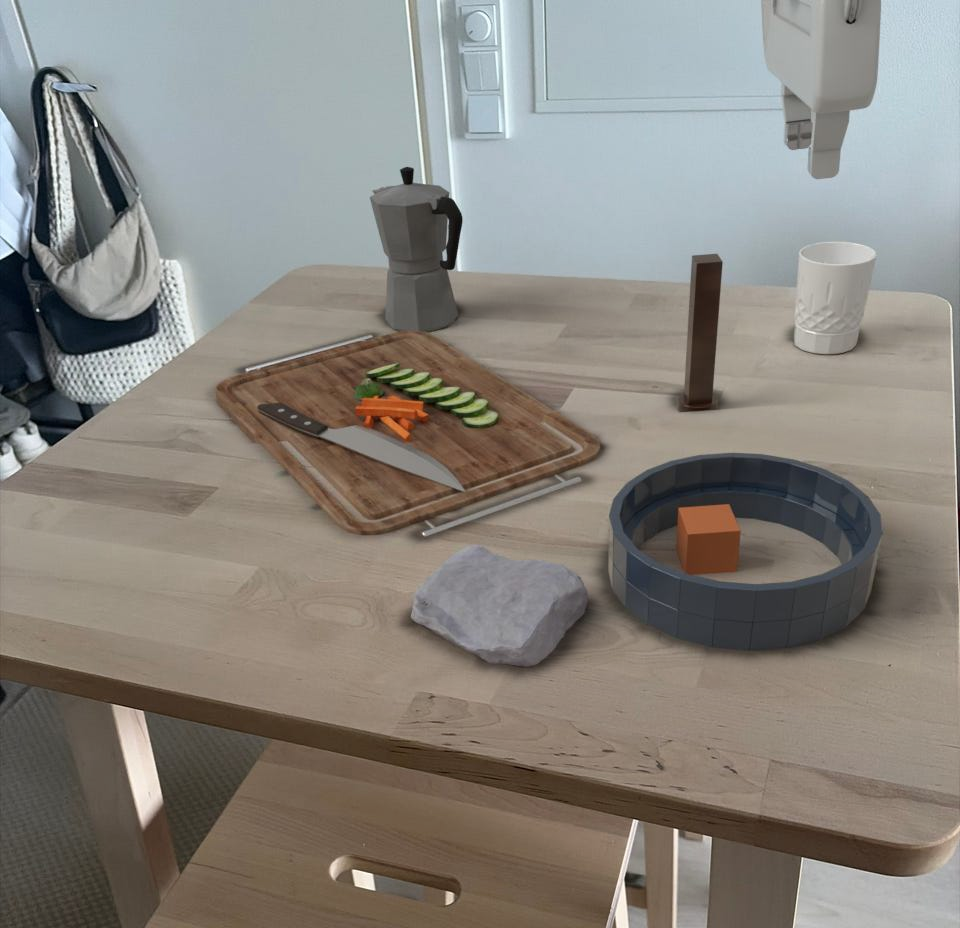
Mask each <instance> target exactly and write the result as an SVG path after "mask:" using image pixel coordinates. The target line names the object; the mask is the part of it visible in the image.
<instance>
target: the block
mask: <svg viewBox="0 0 960 928" xmlns="http://www.w3.org/2000/svg"><path fill="white" fill-rule="evenodd" d="M741 531H742V530H741V528H740V525H739V523H738V520H737V518H735V516H734V514H733V512H732V510H731V507H730V505H729V504H724V505H710V506H696V507H682V508H678V523H677V525H676V539H675V540H676V543H675V549H676V553H677V556H678V559H679V561H680V564H681V565H680V566H681V567H682V570H683V571H682V572H683V573H685V574H690V575H694V576H698V575H709V574H710V575H711V574H723V573H724V574H725V573H736V572H737V570H738V560H739V551H740V542H741Z"/></svg>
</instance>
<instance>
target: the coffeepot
mask: <svg viewBox="0 0 960 928" xmlns="http://www.w3.org/2000/svg"><path fill="white" fill-rule="evenodd" d="M414 172H415V168H414V167H410V166H405V167H404V166H403V168H400V169H399V173H400V176H401V180H402V182H403V183H401V184H396V185H388V186H385V187H384V186H382V187H379V188H377V189H373V190H372V193H373V194H372V195H371V196H369V200H370V205H371V209H372V212H373V215H374V216H373V217H374V219H375V223H376V228H377V231H378V236H379V237H380V238H379V239H380V242H381V245H382V250H383V253H384V254H385V256H386V257H387V258H388V259H387V260H388V270H387V273H386V291H385V292H386V293H385V294H386V295H385V298H386V299H385V315H384V316H385V317H384V319H385V321H386V323H387V325H388V326H389V327H390V328H391V329H393V330H395V331H397V332H401V331H412V330H416V331H424V332H427V333H430V332H434V331H438V330H441V329H444V328H445V329H446V328H447V327H449V326H451V325H452V324H453V323H454V322H455V321H456V319H457V318H458V317H459V312H458V308H457V307H458V306H457V304H456V300H455V295H454V291H453V287H452V284H451V280H450V276H449V272H448V271H453V270H454V269H455V268H456V263H457V258H458V253H459V252H458V251H459V246H460V238H461V232H462V229H463V223H464V222H463V220H464V219H463V215H462V212H461V210H460V208H459V207H458V204H457V203H456V202H455V199H453V198H451V197H450V191H448V190H447V189H445V188H444V187H443V186H441V185H438V184H427V183H418V182H414V174H415V173H414ZM445 251H446V260H444V254H443V253H444V252H445Z"/></svg>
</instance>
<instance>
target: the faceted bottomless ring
mask: <svg viewBox="0 0 960 928" xmlns="http://www.w3.org/2000/svg"><path fill="white" fill-rule="evenodd" d="M724 504H729V505H730V507H731V510H732V512H733V514H734V516H735V519H749V520H750V519H751V520H758V521H763V522H768V523H773V524H778V525H782V526H784V527H788V528H790V529H792V530H796V531H799V532H801V533H804V534H805V535H807V536H809V537H811V538H812V539H814V540H816V541H817V542H818V543H821V544H822V545H824V546H825V547H826V548H827V549H828V550H829V551H830V552H832V554H834V556H836V557H837V559H838V561H839V563H840V564H841V565H838V566H837V567H835V568H832V569H830V570H828V571H826V572H824V573H821V574H817V575H813V576H809V577H805V578H800V579H797V580H792V581H781V582H767V583H765V582H764V583H748V582H747V583H746V582H734V581H733V582H732V581H720V580H716V579H711V578H707V577H703V576H698V575H690V574H685V573H684V571H681V570H678V569H676V568H673V567H671V566H668V565H666V564H663V563H661V562H658V561H657V560H655V559H654V558H652V557H651V556H649V555H648V554H646V553H645V552H643V551H642V550H641V548H642V546H643V544H645V543H646V542H648V541H649V540H650V539H652V538H653V537H654V536H657V534H659V533H661V532H663V531H666V530H668V529H671V528H673V527H675V526H676V527H677V523H678V508H682V507H696V506H710V505H724ZM882 522H883V521H882V515H881V513H880V511H879V510H878V508H877V507H876V505H875V503H874V502H873V501H872V499H871V498H870V497H869V495H867V494H866V493H865V492H863V490H861V489H860V488H859V487H857V486H856V484H854V483H852V482H851V481H850V480H848V479H846V478H844V477H842V476H840V475H838V474H836V473H834V472H832V471H830V470H829V469H826V468H823V467H820V466H818V465H817V466H816V465H814V464H810V463H807V462H805V461H800V460H797V459H794V458H787V457H783V456H782V457H780V456H775V455H770V454H764V453H748V452H722V453H706V454H697V455H692V456H687V457H682V458H678V459H673V460H670V461H669V460H668V461H666V462H664V463H661V464H659V465H656V466H653V467H650V468H648V469H646V470H644V471H642V472H641V473H640V474H638V475H636V476H635V477H633V478H632V479H630V480H629V481H627V482H626V483H624V485H623V486H622V488H621V489H620V490H619V491H618V492H617V494H616V495H615V496H614V497H613V498H612V502H611V506H610V510H609V513H608V563H607V564H608V568H607V569H608V571H607V573H608V576H609V581H610V585H611V590H612V592H613V593H614V595H616V597H617V598H618V600H619V601H620V603H621V604H622V606H623V607H624V608H625V609H626V610H627V611H628V612H629V613H631V614H632V615H634V616H635V617H636V618H637V619H639V620H640V621H642V622H643V623H644V624H646V625H647V626H649V627H651V628H653V629H656V630H658V631H660V632H662V633H665V634H666V635H668V636H670V637H673V638H675V639H678V640H682V641H684V642H690V643H693V644H698V645H701V646H705V647H710V648H714V649H715V648H716V649H725V650H737V651H738V650H739V651H748V652H749V651H752V652H753V651H767V650H781V649H782V650H783V649H790V648H794V647H798V646H801V645H805V644H810V643H813V642H817V641H820V640H823V639H824V638H826V637H828V636H831V635H832V634H835V633H837V632H839V631H841V630H842V629H845V628H846V627H847V626H849V625H850V623H852V622H853V621H854V620H855V619H856V618H858V616H859V615H860V614H861V613H862V612H863V611H864V610H865V608H866V605H867V602H868V600H869V598H870V596H871V593H872V589H873V583H874V578H875V574H876V569H877V564H878V559H879V555H880V549H881V543H882V539H883V534H884V531H883V523H882Z"/></svg>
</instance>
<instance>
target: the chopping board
mask: <svg viewBox="0 0 960 928" xmlns="http://www.w3.org/2000/svg"><path fill="white" fill-rule="evenodd" d="M214 394H215V398H216V402H217V404H218V406H219V407H220V408H221V409H222V410H223V412H225V414H226V415H227V416H228V418H230V419H231V421H233V423H235V424H236V426H237V427H238V428H239V429H241V430H242V431H243V433H244V434H245V435H246V436H247V437H248V438H249V439H250V440H251V442H253V443H254V444H259V445H260V446H262V447H263V448H264V449H265V450H266V451H267V452H268V453H269V454H270V455H271V456H272V457H273V458H274V460H275V461H276V462H277V463H278V464H279V465H280V466H281V467H282V469H284V470H285V471H286V472H287V473H288V474H289V475H290V476H291V478H292V479H293V480H294V481H295V482H296V483H297V484H298V485H299V486H300V487H301V488H302V489H303V490H304V491H305V492H306V493H307V495H309V497H310V498H312V499H313V501H314V502H315V503H316V504H317V505H318V506H319V507H320V508H321V509H322V510H323V511H324V512H325V514H327V515H328V517H330V519H332V520H333V522H334V523H335V524H336V525H337V526H338V527H339V528H341V529H342V530H344V531H346V532H347V533H350V534H354V535H358V536H359V535H360V536H377V535H381V534H387V533H391V532H394V531H396V530H400V529H403V528H405V527H408V526H411V525H414V524H416V523H420V522H424V523H425V524H427V526H428V527H429V529H427V530H424V531H421V533H420V534H421V535H422V536H424V538H425V537H428V536H431V535H434V534H436V533H440V532H442V531H446V530H448V529H451V528H453V527H456V526H460V525H462V524H465V523H468V522H471V521H473V520H476V519H478V518H482V517H485V516H488V515H491V514H493V513H495V512H498V511H501V510H504V509H507V508H509V507H512V506H515V505H518V504H521V503H524V502H527V501H529V500H532V499H536V498H538V497H540V496H543V495H546V494H549V493H552V492H554V491H558V490H561V489H563V488H567V487H570V486H572V485H575V484H577V483H580V482H582V481H583V480H582V478H581V477H580V476H576V477H574V478H573V477H572V478H571V479H568V480H566V479H565V478H563V477H562V476H560V475H559V474H560V473H563V472H565V471H568V470H572V469H574V468H577V467H580V466H583V465H586V464H588V463H590V462H592V461H594V460H595V459H597V457H599V455H600V454H601V441H600V440H599V439H598V438H597V437H596V436H595V435H594V434H593V433H591V432H589V431H587V430H586V429H584V428H582V427H581V426H580V425H578V424H576V423H574V422H573V421H571V420H570V419H568V418H567V417H565V416H563V415H562V414H560V413H558V412H557V411H555V410H554V409H552V408H550V407H549V406H547V405H546V404H544V403H542V402H541V401H539V400H537V399H536V398H534V397H533V396H531V395H530V394H528V393H526V392H525V391H524V390H521V389H520V388H518V387H517V386H515V385H514V384H512V383H510V382H509V381H508V380H505V378H502V377H501V376H499V375H497V374H496V373H494V372H493V371H492V370H490V369H488V368H487V367H485V366H484V365H481V364H480V363H479V362H477V361H475V360H473V359H472V358H471V357H468V356H467V355H466V354H464V353H462V352H461V351H459V350H457V349H456V348H454V347H453V346H451V345H450V344H448V343H446V342H445V341H443V340H441V339H440V338H438V337H437V336H435V335H433V334H432V333H430V332H424V331H416V330H412V331H397V332H392V333H388V334H384V335H380V336H377V337H374V336H373V334H368V335H364V336H360V337H357V338H353V339H349V340H345V341H342V342H338V343H334V344H331V345H326V346H323V347H319V348H315V349H312V350H308V351H305V352H301V353H296V354H294V355H290V356H286V357H283V358H279V359H275V360H271V361H268V362H264V363H260V364H256V365H252V366H249V367H246V368H245V373H241V374H238V375H234V376H230V377H228V378H226V379H223V380H222V381H220V382H219V383H217V385H216V387H214ZM542 423H545V424H547V425H549V426H550V427H551V428H553V429H554V430H556V431H557V432H559V433H561V434H563V435H564V436H565V437H567V438H568V439H570V440H571V441H573V442H575V443H576V444H578V445H579V446H580V447H581V448H582V451H579V452H578V453H575V452H576V448H574V446H573V444H572V443H571V442H570V441H568V440H566V439H565V438H563V437H562V436H560V435H559V434H557V433H556V432H554V431H552V429H550V428H548V427H547V426H545V425H544V424H542ZM281 442H287V443H289V445H291V446H292V447H293V448H294V449H295V450H296V451H297V452H298V453H299V454H300V456H302V457H303V458H304V459H305V460H306V461H307V462H308V463H309V464H310V466H312V468H314V469H315V470H316V471H317V472H318V473H319V474H320V475H321V476H322V477H323V478H324V479H325V480H326V481H327V482H328V483H329V484H330V485H331V486H332V487H333V488H334V489H335V490H336V491H337V492H338V493H339V494H340V495H341V496H342V497H343V499H345V500H346V501H347V502H348V503H349V504H350V505H351V506H352V507H353V508H354V509H355V510H356V511H357V512H358V513H359V514H360V515H361V516H362V517H363V518H365V519H366V520H368V521H362V520H359V519H357V518H355V517H353V516H352V515H351V514H350V513H349V511H347V510H346V508H345V507H344V506H342V505H341V504H340V502H339V501H338V500H336V498H334V497H333V495H332V494H331V493H330V492H329V491H328V490H327V489H326V488H325V487H323V485H322V484H321V483H320V482H319V481H318V480H317V479H316V478H315V477H314V476H313V475H312V474H311V473H310V472H309V471H308V470H307V469H306V468H305V467H304V466H303V465H302V464H301V463H300V462H299V461H298V460H297V459H296V458H295V457H294V456H293V455H292V454H291V453H290V452H289V451H288V449H286V448H285V447H284V446H283V445H282V444H281ZM573 453H575V454H573ZM531 468H532V469H531ZM528 469H529V470H528ZM551 476H553V477H554V478H556V479H557V480H559V481H560V482H559V483H556V484H554V485H551V486H548V487H546V488H542V489H538V490H537V491H534V492H531V493H528V494H526V495H522V496H519V497H517V498H514V499H511V500H508V501H506V502H502V503H500V504H497V505H494V506H491V507H489V508H486V509H483V510H480V511H478V512H474V513H472V514H468V515H466V516H463V517H461V518H457V519H455V520H452V521H449V522H445V523H443V524H441V525H438V526H436V525H435V524H433V522H431V521H430V520H429V519H431V518H434V517H437V516H440V515H443V514H445V513H449V512H451V511H454V510H457V509H459V508H462V507H465V506H468V505H471V504H474V503H477V502H479V501H483V500H485V499H488V498H491V497H494V496H497V495H500V494H503V493H505V492H509V491H511V490H515V489H517V488H521V487H523V486H525V485H529V484H532V483H535V482H537V481H541V480H544V479H546V478H548V477H551ZM501 478H502V479H501ZM499 479H500V480H499ZM496 480H497V481H496ZM487 483H488V484H487ZM484 484H485V485H484ZM481 485H482V486H481ZM473 488H474V489H473ZM458 493H459V494H458ZM455 494H456V495H455ZM449 496H450V497H449ZM446 497H447V498H446ZM443 498H445V499H443ZM435 501H436V502H435ZM426 504H427V505H426ZM423 505H424V506H423ZM420 506H421V507H420ZM417 507H418V508H417ZM415 508H416V509H415ZM411 509H412V510H411ZM408 510H410V511H408ZM405 511H407V512H405ZM402 512H404V513H402ZM400 513H401V514H400ZM397 514H398V515H397ZM393 515H395V516H393ZM387 517H389V518H387ZM382 519H383V520H382Z"/></svg>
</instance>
